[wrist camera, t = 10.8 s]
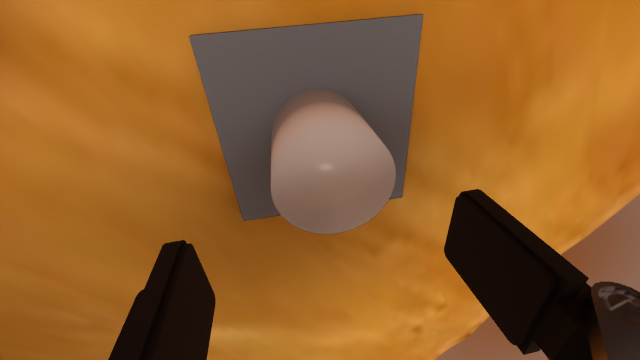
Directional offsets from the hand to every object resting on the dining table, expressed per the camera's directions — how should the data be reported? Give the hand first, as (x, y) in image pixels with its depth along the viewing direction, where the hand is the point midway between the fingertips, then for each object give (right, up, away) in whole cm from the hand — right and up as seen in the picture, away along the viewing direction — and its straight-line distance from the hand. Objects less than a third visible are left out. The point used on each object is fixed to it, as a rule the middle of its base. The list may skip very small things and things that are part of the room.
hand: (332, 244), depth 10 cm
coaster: (-1, +5, +8) cm, 9 cm away
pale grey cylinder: (-1, +5, +7) cm, 9 cm away
